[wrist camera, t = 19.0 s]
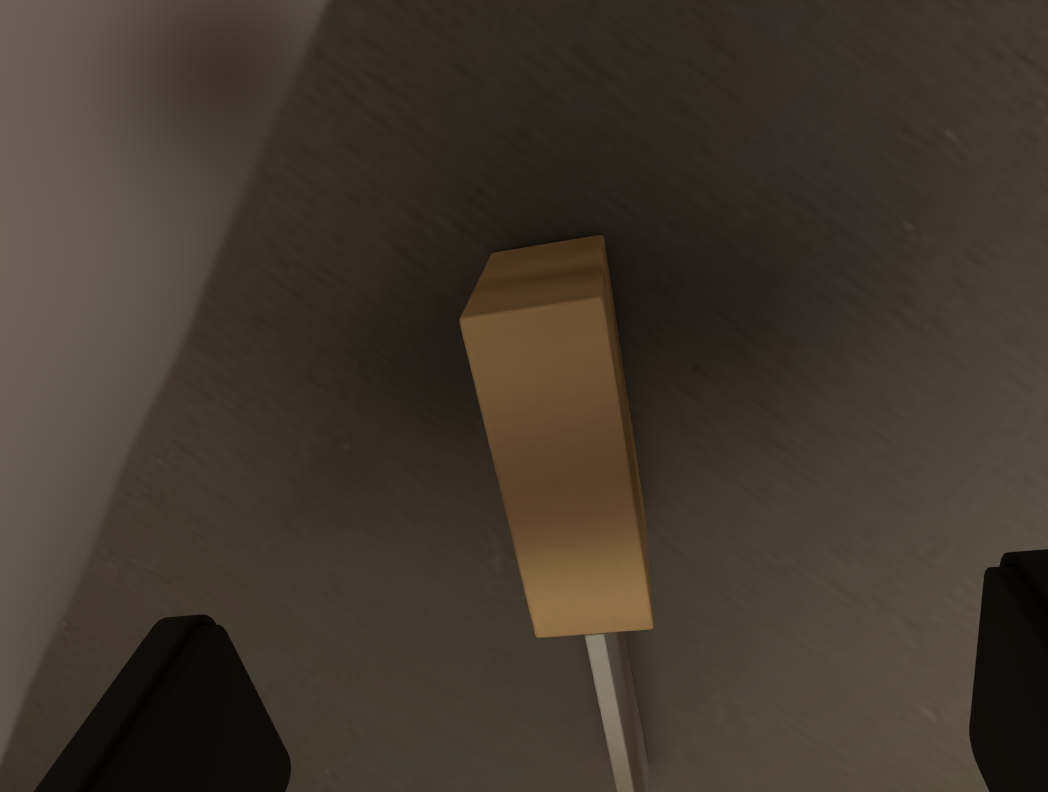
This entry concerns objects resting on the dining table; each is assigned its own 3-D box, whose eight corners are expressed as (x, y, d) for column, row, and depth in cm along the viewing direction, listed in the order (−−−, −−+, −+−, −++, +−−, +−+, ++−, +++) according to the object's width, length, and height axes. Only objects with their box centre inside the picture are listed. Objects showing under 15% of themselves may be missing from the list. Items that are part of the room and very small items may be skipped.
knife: (490, 251, 16) (457, 318, 13) (603, 233, 16) (602, 297, 12) (601, 768, 23) (600, 908, 19) (682, 765, 22) (697, 907, 19)
